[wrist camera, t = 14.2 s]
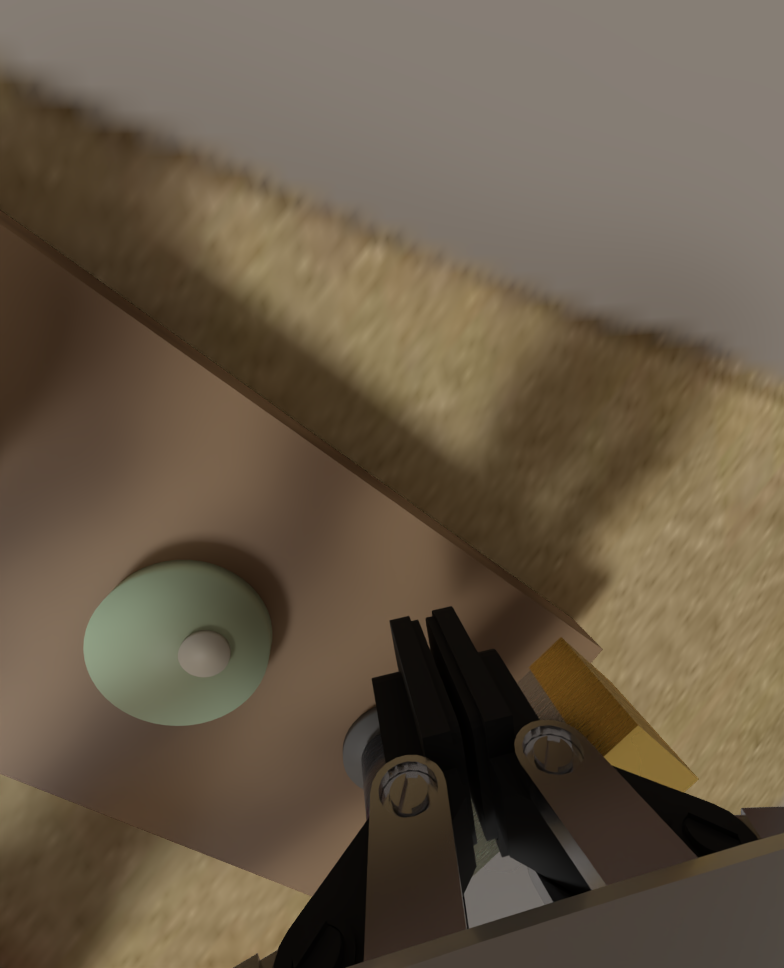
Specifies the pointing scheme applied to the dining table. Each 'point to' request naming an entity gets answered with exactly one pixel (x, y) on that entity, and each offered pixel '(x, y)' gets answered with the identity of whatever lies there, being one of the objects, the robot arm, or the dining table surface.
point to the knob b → (608, 727)
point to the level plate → (202, 585)
